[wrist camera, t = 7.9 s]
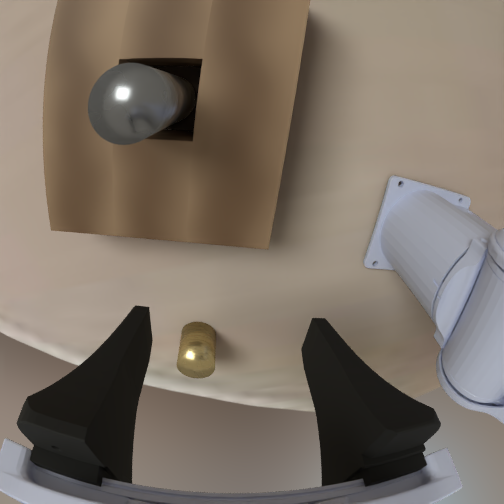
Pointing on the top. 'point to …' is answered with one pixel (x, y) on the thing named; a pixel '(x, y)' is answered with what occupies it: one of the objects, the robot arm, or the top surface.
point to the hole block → (174, 141)
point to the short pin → (197, 350)
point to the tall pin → (137, 102)
